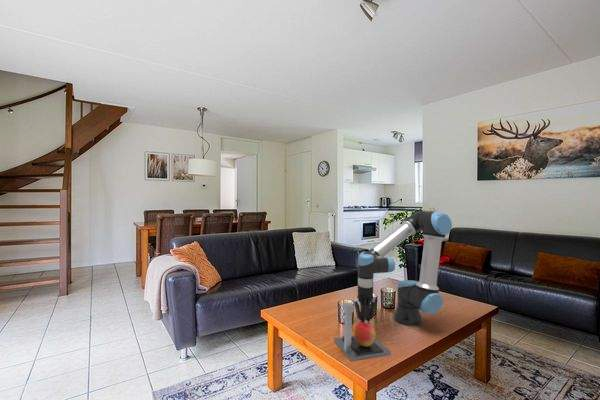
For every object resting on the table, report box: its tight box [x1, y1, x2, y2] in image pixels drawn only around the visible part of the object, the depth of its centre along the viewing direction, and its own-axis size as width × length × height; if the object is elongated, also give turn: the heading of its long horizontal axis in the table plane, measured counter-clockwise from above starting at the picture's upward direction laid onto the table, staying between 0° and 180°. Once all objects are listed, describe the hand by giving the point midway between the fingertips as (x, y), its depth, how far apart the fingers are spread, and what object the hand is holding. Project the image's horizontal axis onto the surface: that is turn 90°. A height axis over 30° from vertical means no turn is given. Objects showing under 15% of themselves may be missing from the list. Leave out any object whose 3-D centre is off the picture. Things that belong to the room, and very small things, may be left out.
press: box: [333, 302, 392, 362], centre depth 140 cm, size 21×18×22 cm
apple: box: [353, 321, 377, 347], centre depth 138 cm, size 10×10×10 cm
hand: (364, 332), depth 148 cm, fingers closed
